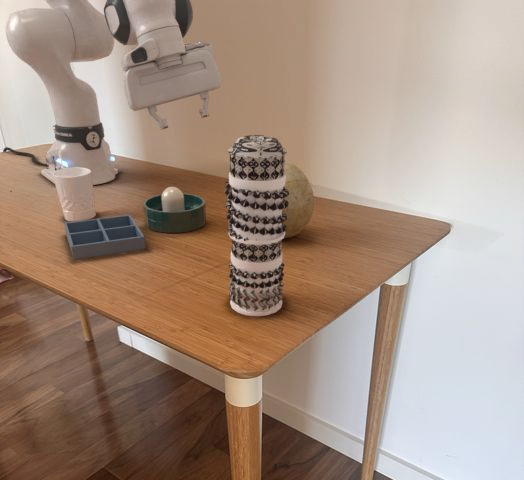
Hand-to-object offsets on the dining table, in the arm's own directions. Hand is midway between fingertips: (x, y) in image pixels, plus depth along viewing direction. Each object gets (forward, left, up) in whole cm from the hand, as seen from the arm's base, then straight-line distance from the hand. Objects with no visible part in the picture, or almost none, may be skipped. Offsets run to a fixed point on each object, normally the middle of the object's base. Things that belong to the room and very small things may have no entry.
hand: (185, 123), depth 106 cm
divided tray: (+2, -25, -19) cm, 31 cm away
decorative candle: (+41, -22, -19) cm, 51 cm away
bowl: (+4, -8, -19) cm, 21 cm away
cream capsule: (+4, -8, -19) cm, 21 cm away
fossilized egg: (+25, +3, -19) cm, 32 cm away
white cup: (-15, -20, -19) cm, 32 cm away
